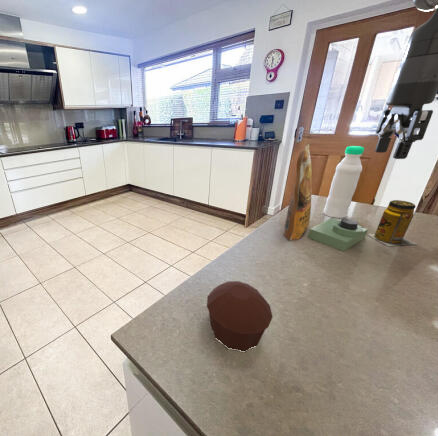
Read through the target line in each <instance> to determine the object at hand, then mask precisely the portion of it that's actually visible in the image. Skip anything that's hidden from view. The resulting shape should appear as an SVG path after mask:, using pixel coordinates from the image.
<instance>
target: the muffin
mask: <svg viewBox="0 0 438 436" xmlns="http://www.w3.org/2000/svg"><path fill="white" fill-rule="evenodd" d="M206 308H207V310H208V315H209V321H210V322H209V323H210V328H211V327H212V328H211V330H212V329H213V330H212V332H213V331H214V332H213V335H215V336H214V339H215V338H217V339H218V340H220V341H221V342H222V343H223V344H224V345H226V346H227V347H228V348H232V349H238V350H241V351H246V350H248V349H249V348H251V347H254V346H257V347H258V345H259V343H260V341H261V339H262V337H263V335H264V333H265V331H266V329H268V328H269V326H270V325H271V322H272V320H273V317H274V316H273V312H272V309H271V305H270V304H269V302H268V301H267V300H266V298H264V296H263V295H262V293H261V292H260V291H259V290H258V289H257V288H255V287H254V286H252V285H250V284H249V283H247V282H242V281H238V280H229V281H226V282H222V283H221V284H219V285H217V286H215V287H214V288H213V289H212V291H210V293H209V294H208V295H207V298H206ZM223 344H222V345H223ZM224 345H223V346H224ZM248 351H249V350H248ZM246 352H247V351H246Z"/></svg>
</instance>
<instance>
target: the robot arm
mask: <svg viewBox="0 0 438 436" xmlns="http://www.w3.org/2000/svg"><path fill="white" fill-rule="evenodd" d="M413 4H414V7H415V8H416V9H417V10H419V11H422V12H430V11H434V12H433V13H432V15H431V17H430V18H429V19H427V20H426V21H425V22H424V23H423V24H421V25H419V26H418V27H416V28H415V29H414V30H413V32H412V33H411V34H410V36H409V39H408V41H407V45H406V47H405V51H404V53H403V56H402V60H401V62H400V63H399V66H398V68H397V70H396V73H395V76H394V79H393V82H392V84H391V88H390V90H389V93H388V97H387V99H386V102H385V104H386V105H387V106H390V107H391V106H392V108H386V109H385V108H384V109H383V111H382V113H381V116H380V119H379V122H378V124H377V126H376V129H375V134H376V135H377V137H378V141H377V143H376V146H375V149H374V152H376V153H378V154H379V153H381V154H382V153H383V154H384V153H386V152H387V151H388V149H389V147H390V143H391V141H392V137H393V136H394V135H395V133H396V134H397V135H398V142H397V145H396V148H395V150H394V152H393V155H392V158H393V159H395V160H405V159H407V158H408V156H409V152H410V150H411V147H412V145H413V143H415V142H416V141H422V140H423V139H424V137H425V134H426V132H427V129H428V127H429V124H430V121H431V119H432V116H433V113H434V109H428V110H427V109H426V110H425V109H423V108H424V105H429V104H432V103H433V102H434V101H435V99H436V97H437V94H438V0H413Z"/></svg>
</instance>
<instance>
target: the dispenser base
mask: <svg viewBox="0 0 438 436" xmlns="http://www.w3.org/2000/svg"><path fill="white" fill-rule="evenodd" d="M340 222H341V220H339V219H337V218H333V217H330V218H329V219H327V220H325V221H323V222H321V223H319V224H317V225H315V226H312V227H311V228H309V231H308V235H307V238H308V239H309V240H313V241H316V242H317V243H321V244H323V245H326V246H329V247H331V248H333V249H336V250H339V251H341V252H346V251H347V250H349V249H351V248H352V247H353V246H355V245H356V244H358V243H360V242H362V241H363V240H365V238H366V236H367V234H368V231H369V228H366V227H363V226H361V225H359V224H358V226H357V228H356V230H349V229H344V228H342V227H340V226H339V225H340Z"/></svg>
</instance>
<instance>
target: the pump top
mask: <svg viewBox="0 0 438 436" xmlns="http://www.w3.org/2000/svg"><path fill="white" fill-rule="evenodd" d="M340 221H341V222H340V225H339V226H340V227H342V228H344V229H349V230H356V228H357V226H358V225H359V221H357V220H355V219H352V218H340Z"/></svg>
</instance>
